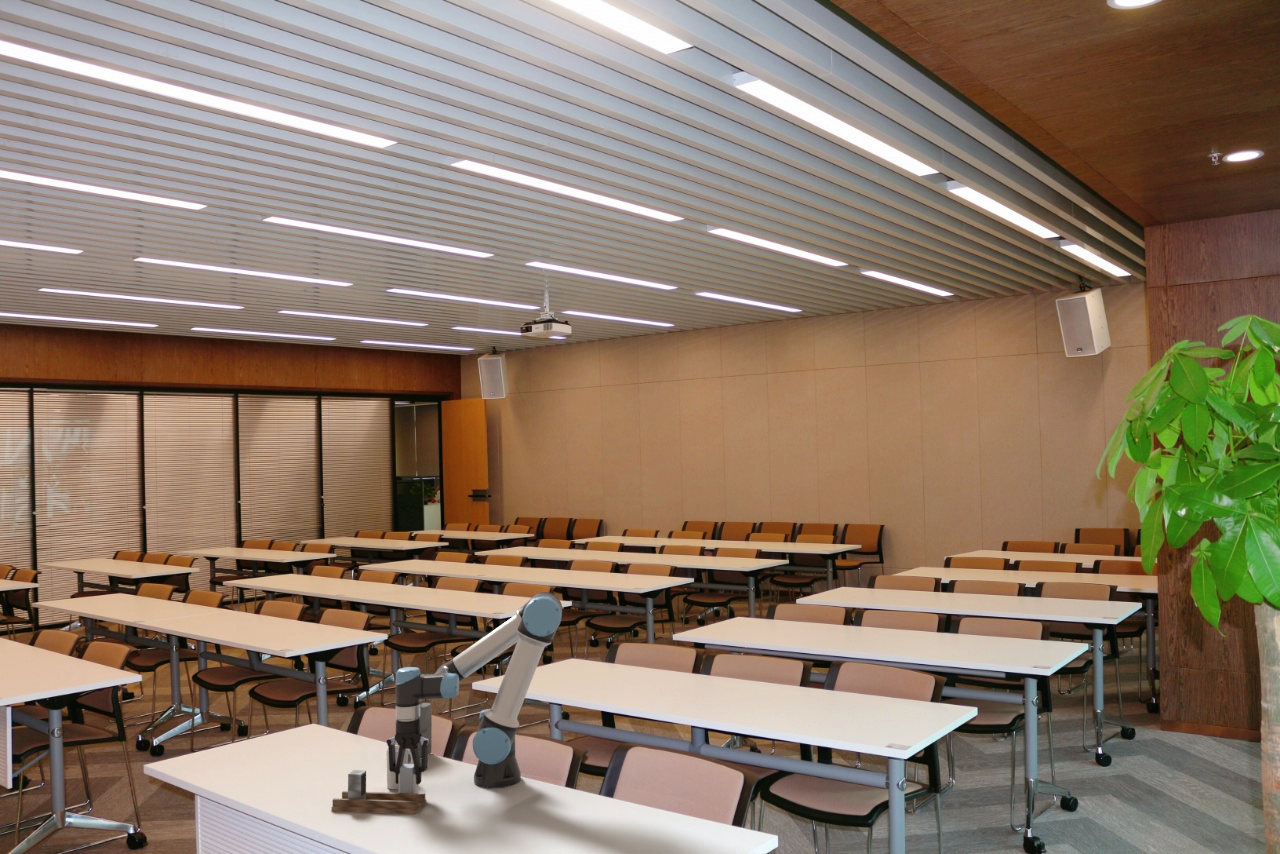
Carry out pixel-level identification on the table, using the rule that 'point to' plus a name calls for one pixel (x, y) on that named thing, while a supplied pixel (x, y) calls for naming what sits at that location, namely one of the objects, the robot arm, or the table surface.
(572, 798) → the table surface
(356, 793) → the rail
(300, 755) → the table surface
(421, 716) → the flask
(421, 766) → the robot arm
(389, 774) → the mug
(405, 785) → the block
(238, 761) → the table surface
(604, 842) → the table surface
